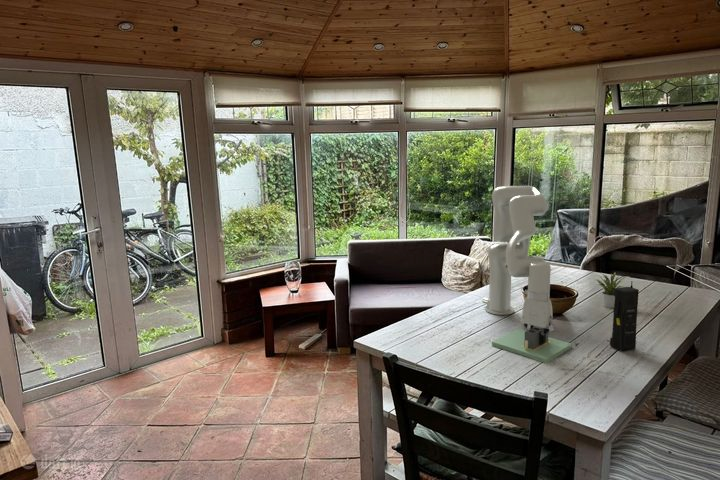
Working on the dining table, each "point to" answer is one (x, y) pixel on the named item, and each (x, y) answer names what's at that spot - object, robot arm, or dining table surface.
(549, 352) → the header board
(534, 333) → the block
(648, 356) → the dining table surface
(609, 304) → the house plant
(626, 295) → the portable radio
